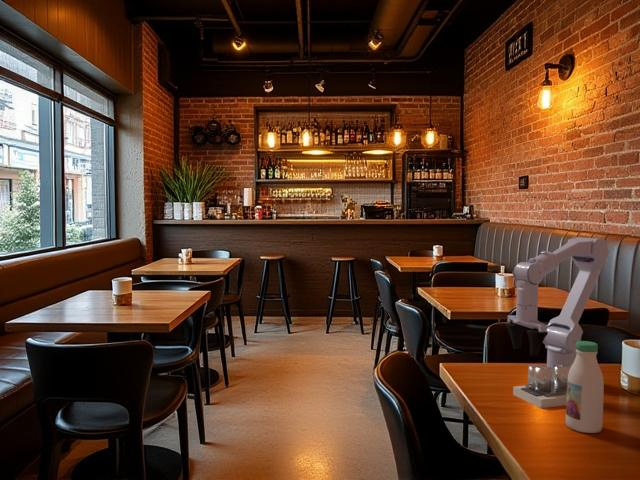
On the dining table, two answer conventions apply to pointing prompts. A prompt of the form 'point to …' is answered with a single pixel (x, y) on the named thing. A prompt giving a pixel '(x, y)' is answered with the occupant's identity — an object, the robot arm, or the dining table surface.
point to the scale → (539, 397)
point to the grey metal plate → (548, 393)
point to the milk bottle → (585, 390)
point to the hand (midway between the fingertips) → (525, 351)
